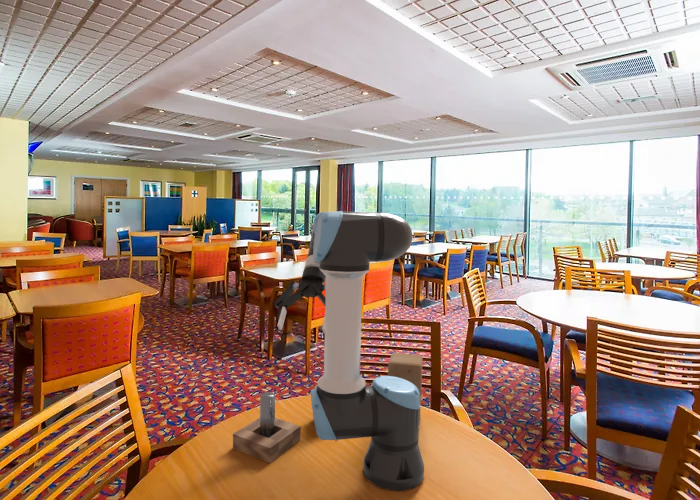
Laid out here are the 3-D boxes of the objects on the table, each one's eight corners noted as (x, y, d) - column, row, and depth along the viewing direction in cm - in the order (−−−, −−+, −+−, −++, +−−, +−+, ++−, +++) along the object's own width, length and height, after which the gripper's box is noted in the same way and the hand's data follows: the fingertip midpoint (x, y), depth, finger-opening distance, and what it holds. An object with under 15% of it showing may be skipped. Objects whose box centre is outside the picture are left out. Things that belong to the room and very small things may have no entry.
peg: (277, 442, 118) (278, 394, 116) (268, 449, 114) (268, 399, 113) (266, 438, 120) (266, 390, 118) (256, 444, 116) (257, 396, 115)
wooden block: (419, 430, 126) (421, 365, 124) (385, 425, 128) (388, 362, 126) (420, 414, 136) (422, 354, 134) (389, 410, 138) (391, 351, 136)
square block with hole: (300, 439, 119) (300, 426, 119) (270, 463, 108) (270, 448, 108) (264, 427, 126) (265, 414, 125) (233, 447, 114) (232, 433, 114)
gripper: (353, 280, 138) (344, 338, 125) (281, 276, 143) (264, 332, 129) (351, 266, 133) (341, 325, 119) (275, 263, 137) (258, 320, 124)
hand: (301, 329), depth 124 cm, fingers open, 13 cm apart
